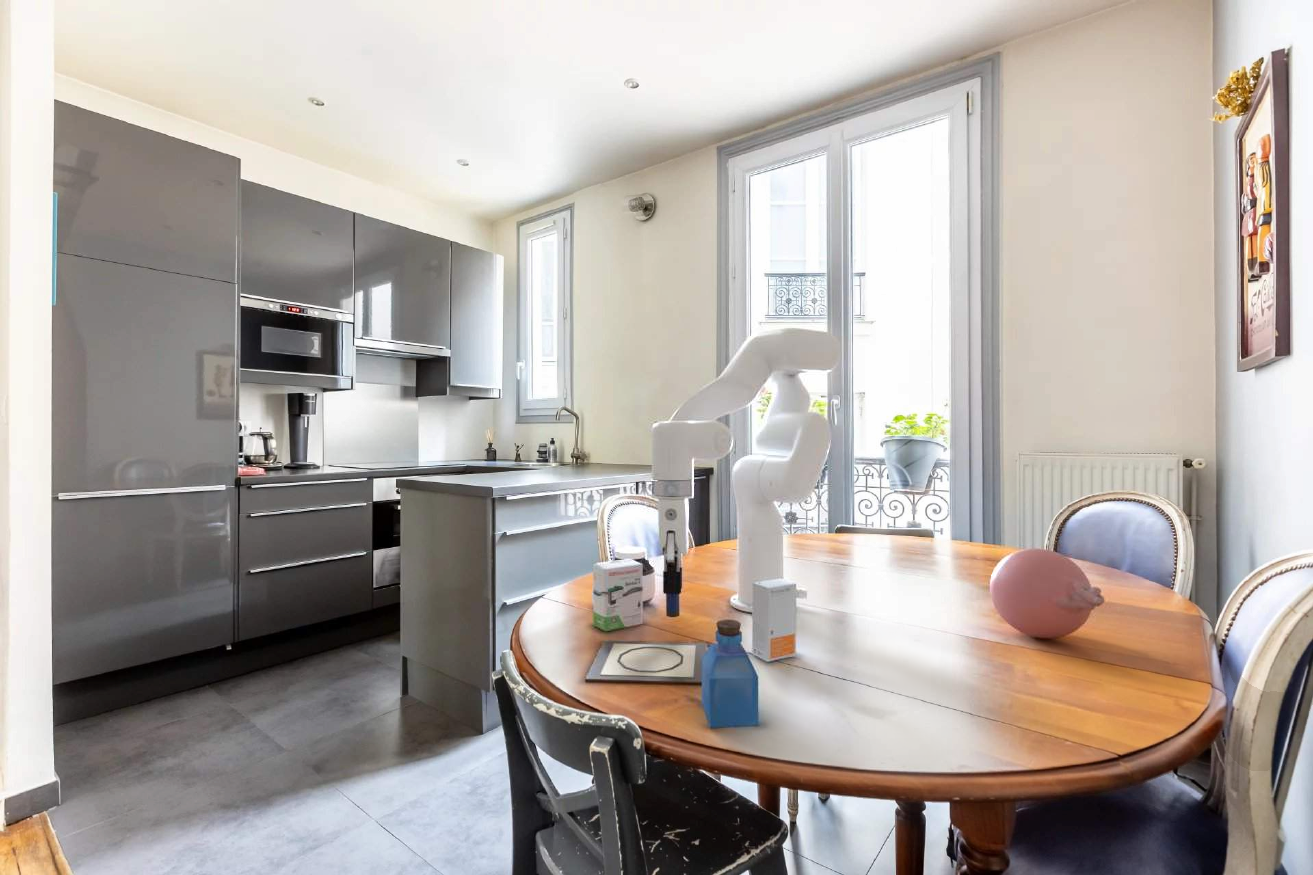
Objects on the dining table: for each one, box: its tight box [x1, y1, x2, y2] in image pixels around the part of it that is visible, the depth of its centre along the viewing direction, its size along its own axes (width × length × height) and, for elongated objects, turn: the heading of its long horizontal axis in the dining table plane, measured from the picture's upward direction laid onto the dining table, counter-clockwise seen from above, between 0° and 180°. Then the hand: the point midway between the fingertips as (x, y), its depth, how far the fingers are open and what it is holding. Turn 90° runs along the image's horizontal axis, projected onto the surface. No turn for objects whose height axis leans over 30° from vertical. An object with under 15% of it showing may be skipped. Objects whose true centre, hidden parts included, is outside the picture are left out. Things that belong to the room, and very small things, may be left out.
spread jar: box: [590, 546, 657, 608], centre depth 127 cm, size 12×11×12 cm
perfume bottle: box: [701, 619, 760, 729], centre depth 79 cm, size 6×6×12 cm
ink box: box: [592, 559, 644, 632], centre depth 115 cm, size 9×5×12 cm, turn 123°
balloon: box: [989, 547, 1106, 639], centre depth 105 cm, size 15×20×15 cm
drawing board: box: [584, 640, 708, 686], centre depth 97 cm, size 18×16×1 cm
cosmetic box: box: [751, 578, 797, 663], centre depth 99 cm, size 6×4×12 cm
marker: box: [665, 559, 681, 618], centre depth 109 cm, size 2×2×10 cm
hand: (672, 590), depth 109 cm, fingers closed on marker, 2 cm apart
